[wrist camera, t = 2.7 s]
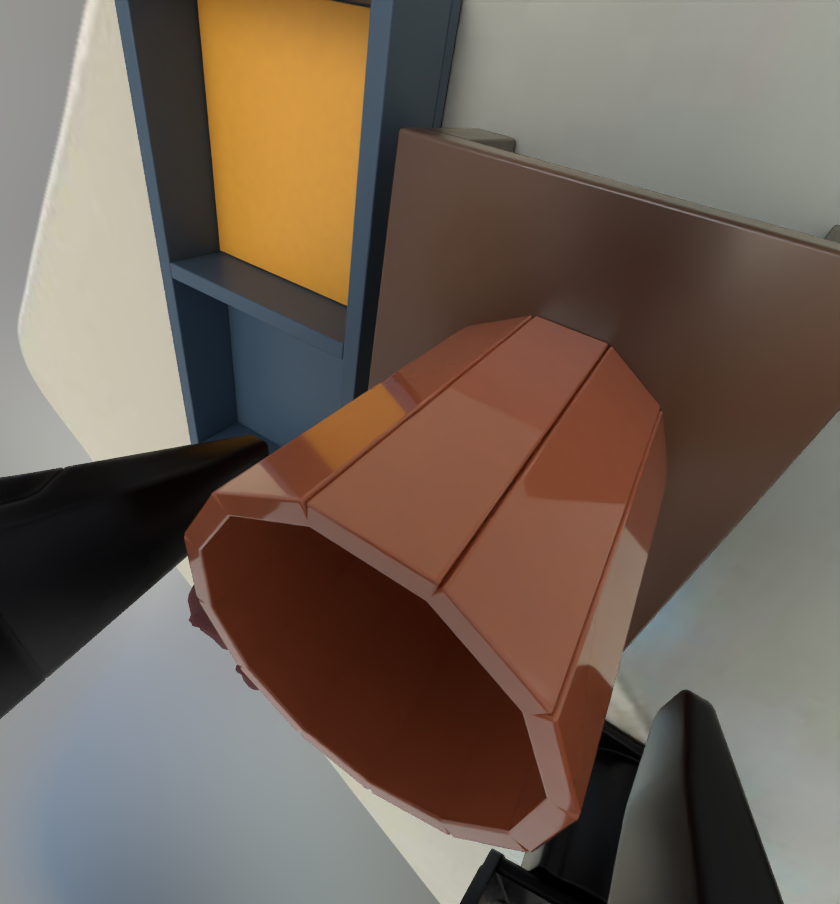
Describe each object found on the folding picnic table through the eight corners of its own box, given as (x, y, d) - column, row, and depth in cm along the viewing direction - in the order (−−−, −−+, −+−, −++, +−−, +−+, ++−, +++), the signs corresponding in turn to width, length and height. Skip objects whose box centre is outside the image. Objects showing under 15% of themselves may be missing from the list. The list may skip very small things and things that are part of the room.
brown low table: (898, 240, 10) (955, 283, 7) (636, 579, 17) (612, 666, 15) (477, 128, 13) (397, 126, 10) (408, 457, 20) (352, 510, 18)
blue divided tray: (463, -9, 12) (398, -41, 10) (378, 503, 23) (339, 540, 21) (196, -54, 15) (98, -87, 12) (238, 421, 26) (191, 447, 24)
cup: (730, 390, 9) (693, 741, 4) (594, 586, 13) (485, 886, 8) (441, 278, 11) (153, 408, 6) (400, 478, 15) (210, 662, 10)
